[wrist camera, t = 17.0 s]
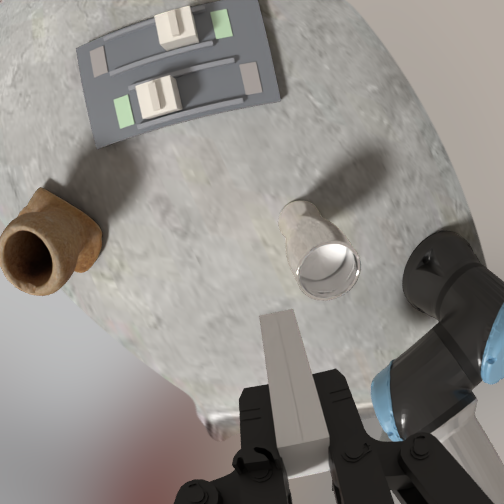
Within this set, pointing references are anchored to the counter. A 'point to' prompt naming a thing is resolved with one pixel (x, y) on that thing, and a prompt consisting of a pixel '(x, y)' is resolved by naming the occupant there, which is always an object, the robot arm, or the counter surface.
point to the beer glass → (318, 252)
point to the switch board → (178, 70)
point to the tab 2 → (158, 97)
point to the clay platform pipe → (48, 244)
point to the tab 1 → (176, 28)
